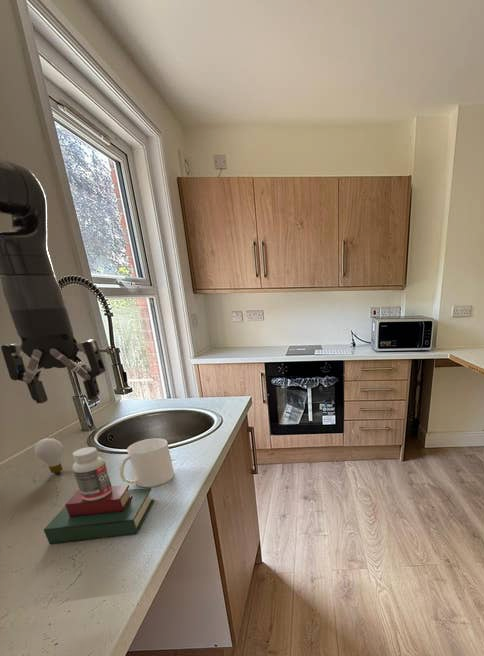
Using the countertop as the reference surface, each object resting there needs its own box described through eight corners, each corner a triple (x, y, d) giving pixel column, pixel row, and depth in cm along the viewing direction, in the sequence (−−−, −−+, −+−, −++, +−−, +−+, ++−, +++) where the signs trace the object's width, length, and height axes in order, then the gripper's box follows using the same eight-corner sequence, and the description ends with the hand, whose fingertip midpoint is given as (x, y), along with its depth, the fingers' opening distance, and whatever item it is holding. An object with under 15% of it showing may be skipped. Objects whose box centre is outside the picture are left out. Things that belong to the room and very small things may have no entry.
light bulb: (41, 480, 90) (27, 445, 86) (47, 470, 95) (34, 437, 91) (68, 475, 92) (56, 441, 88) (72, 466, 97) (61, 433, 93)
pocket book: (69, 517, 69) (64, 504, 68) (82, 501, 74) (78, 489, 73) (123, 511, 70) (119, 499, 69) (132, 496, 75) (129, 484, 74)
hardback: (49, 544, 67) (43, 529, 66) (79, 508, 78) (74, 495, 77) (137, 534, 69) (133, 519, 68) (154, 500, 80) (151, 487, 79)
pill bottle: (111, 497, 70) (98, 453, 66) (80, 504, 68) (64, 459, 64) (114, 484, 74) (101, 443, 71) (84, 491, 72) (70, 448, 69)
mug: (168, 466, 95) (161, 435, 92) (179, 479, 89) (171, 446, 85) (120, 481, 89) (110, 448, 85) (127, 496, 82) (117, 461, 78)
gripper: (94, 303, 61) (117, 392, 68) (5, 306, 59) (37, 397, 66) (73, 305, 54) (101, 404, 61) (-29, 308, 53) (11, 410, 59)
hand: (68, 400), depth 63 cm, fingers open, 8 cm apart
